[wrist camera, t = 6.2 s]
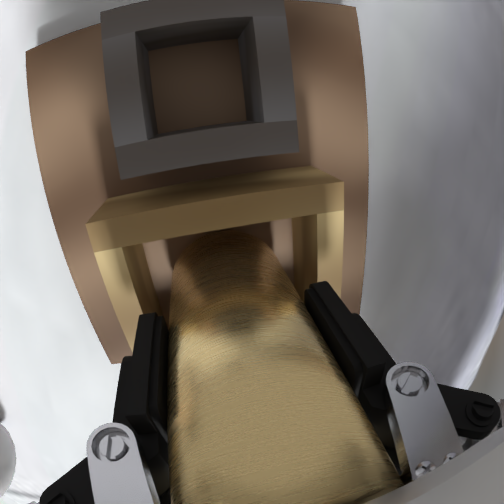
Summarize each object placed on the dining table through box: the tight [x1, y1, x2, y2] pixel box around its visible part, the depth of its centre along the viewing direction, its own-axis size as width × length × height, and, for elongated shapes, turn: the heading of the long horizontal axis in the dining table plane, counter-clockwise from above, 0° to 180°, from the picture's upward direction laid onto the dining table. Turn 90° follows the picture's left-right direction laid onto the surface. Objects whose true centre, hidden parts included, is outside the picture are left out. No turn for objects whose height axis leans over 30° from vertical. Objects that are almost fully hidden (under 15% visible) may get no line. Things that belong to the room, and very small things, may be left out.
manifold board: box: [26, 0, 369, 364], centre depth 11 cm, size 16×14×4 cm
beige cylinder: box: [167, 231, 404, 504], centre depth 8 cm, size 5×5×10 cm
